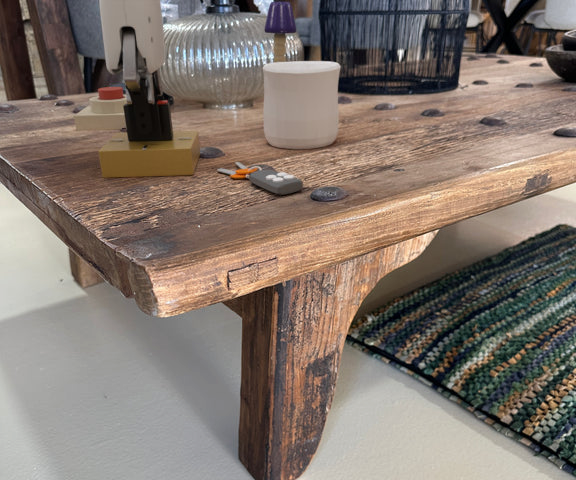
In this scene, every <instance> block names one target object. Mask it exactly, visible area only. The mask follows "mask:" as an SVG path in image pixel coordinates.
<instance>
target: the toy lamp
mask: <svg viewBox="0 0 576 480" xmlns="http://www.w3.org/2000/svg"><path fill="white" fill-rule="evenodd" d="M296 32H297V27H296V20H295V16H294V11H293V6H292V3H291V2H289V1H270V3H269V6H268V11H267V15H266V20H265V24H264V33H266V34H274V35H273V42H274V46H273V53H274V58H273V63H275V62H287V60H286V59H287V58H286V53H287V47H286V42H287V36H286V34H296Z"/></svg>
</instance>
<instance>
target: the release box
mask: <svg viewBox="0 0 576 480" xmlns="http://www.w3.org/2000/svg"><path fill="white" fill-rule="evenodd" d="M123 96H124V98H122V99H116V100H100V99H99V95H97V96H92V97H90V98H89V99H88V104H89V105H87V106H86V107H84V108H83V109H82V110H80V111H79V112H77V113H75V114H74V115H73V120H74V127H75V131H106V130H107V131H110V130H123V129H122V128H124V127H126V122H125V115H124V108H123V106H124V105H125V104H127V98H126V93H123Z"/></svg>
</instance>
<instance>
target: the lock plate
mask: <svg viewBox="0 0 576 480" xmlns="http://www.w3.org/2000/svg"><path fill="white" fill-rule="evenodd" d="M199 135H200V134H199V130H173V139H172V140H164V141H128V136H127V132H116V133H114V135H113V136H112V137H110V139H108V141H107V142H106V143H105V144H104V145H103V146H102V147H100V149H99V150H98V153H97V154H98V157H99V165H100V169H101V175H102V178H104V179H107V178H109V179H112V178H113V179H114V178H139V177H140V178H141V177H173V176H174V177H175V176H178V177H179V176H194V174H195V171H196V169H197V168H196V167H197V166H198V165H197V164H198V162H199V159H200V157H201V147H200V137H199Z"/></svg>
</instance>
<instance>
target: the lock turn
mask: <svg viewBox="0 0 576 480" xmlns="http://www.w3.org/2000/svg"><path fill="white" fill-rule="evenodd" d="M157 103H158V110H159V118H160V127H161V135H162V137H161V139H160V140H159V141H164V140H172V139H173V131H174V129H173V121H172V120H173V119H172V111H171V102H170V101H168V100H167V99H164V100H162V101H158V102H157ZM127 104H128V103H127ZM127 104H125V105H124V106H123V108H124V115H125V122H126V129H125V130H126V133H127V136H128V141H134V140H133V139H132V135H131V128H130V121H129V114H128V107H127Z"/></svg>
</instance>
